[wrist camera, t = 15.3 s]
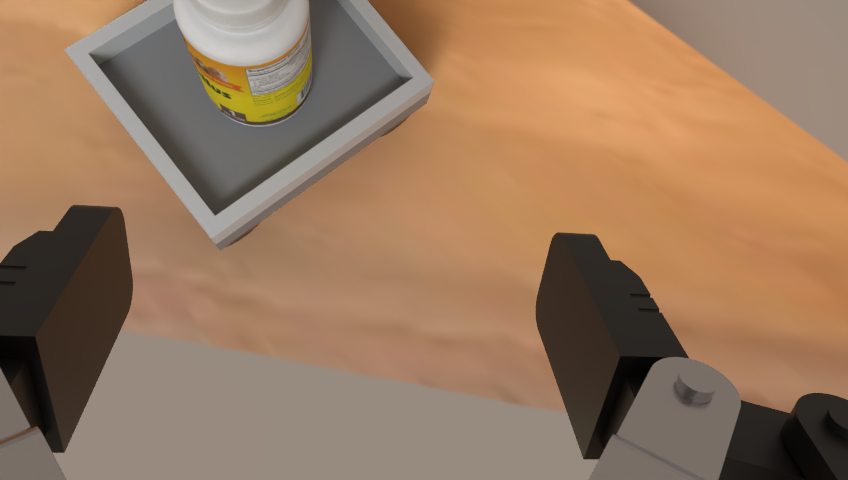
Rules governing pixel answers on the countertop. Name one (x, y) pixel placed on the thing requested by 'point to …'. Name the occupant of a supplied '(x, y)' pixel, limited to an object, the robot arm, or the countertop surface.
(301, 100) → the supplement bottle
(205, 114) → the square grey tray
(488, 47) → the countertop surface
